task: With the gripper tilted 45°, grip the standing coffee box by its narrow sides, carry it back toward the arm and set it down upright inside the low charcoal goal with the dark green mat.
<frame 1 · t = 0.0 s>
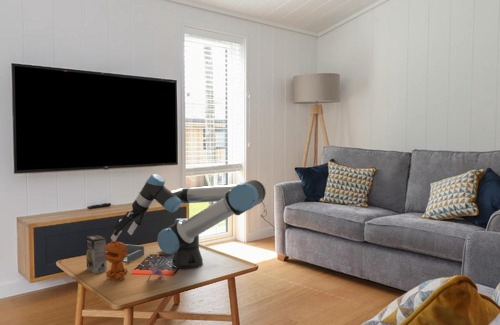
hand: (121, 236, 214), 15 cm above the table, tool tilted 35°, fingers open, 13 cm apart
coffee box: (96, 270, 211), on the table
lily: (156, 280, 196), on the table
teacup: (171, 251, 244), on the table
orange figurine: (116, 279, 199), on the table
goal: (123, 257, 232), on the table
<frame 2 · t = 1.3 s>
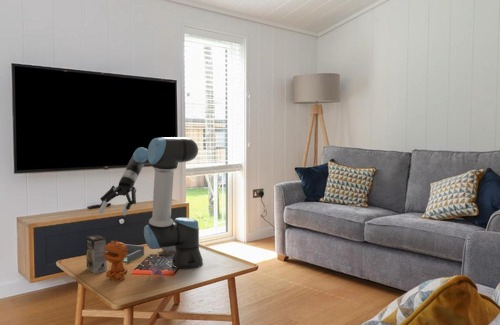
hand: (111, 213, 222), 25 cm above the table, tool tilted 45°, fingers open, 13 cm apart
nothing on the table moved.
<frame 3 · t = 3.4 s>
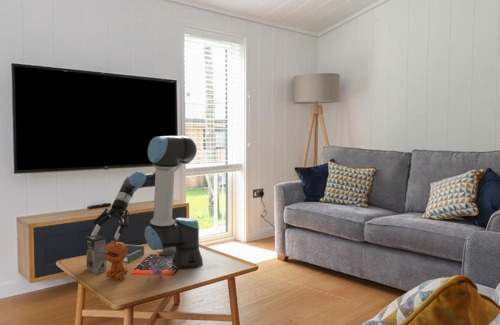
hand: (104, 237, 218), 14 cm above the table, tool tilted 45°, fingers open, 13 cm apart
nothing on the table moved.
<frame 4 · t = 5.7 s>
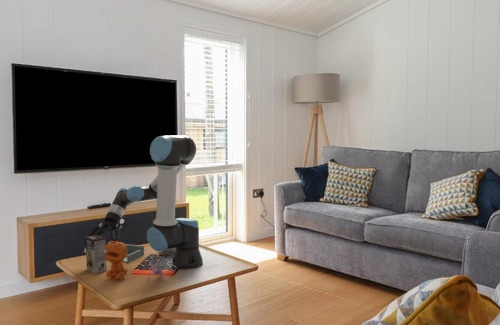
hand: (95, 253, 210), 8 cm above the table, tool tilted 45°, fingers closed on coffee box, 10 cm apart
coffee box: (96, 270, 211), on the table, touching gripper
everything else where it was.
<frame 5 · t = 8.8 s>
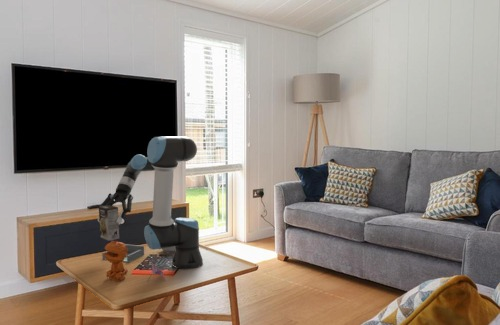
hand: (108, 222, 221), 21 cm above the table, tool tilted 45°, fingers closed on coffee box, 10 cm apart
coffee box: (109, 238, 223), point 12 cm above the table, touching gripper
everything else where it was.
when the fingers open (10 cm above the table, at t = 12.4 s): coffee box stays where it is, resting on goal.
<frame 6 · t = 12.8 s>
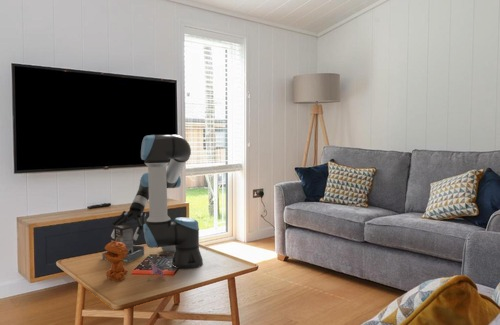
hand: (123, 238, 231), 10 cm above the table, tool tilted 45°, fingers open, 13 cm apart
coffee box: (124, 256, 232), resting on goal
everything else where it was.
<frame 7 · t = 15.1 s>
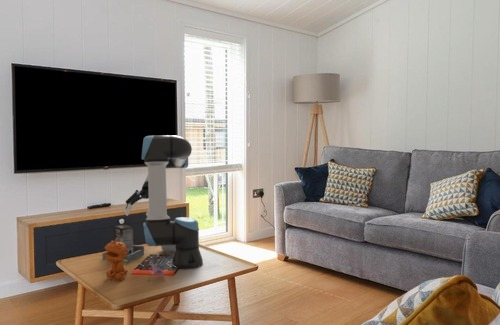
hand: (136, 215, 243), 20 cm above the table, tool tilted 45°, fingers open, 13 cm apart
nothing on the table moved.
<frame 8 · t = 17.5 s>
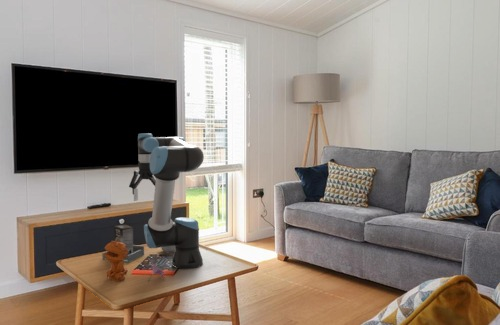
hand: (146, 201, 238), 29 cm above the table, tool pointing down, fingers open, 13 cm apart
nothing on the table moved.
at the end: coffee box inside the target area on the goal (0.3 cm from its centre), point 0.3 cm above the goal's base; coffee box tilted 0°; the gripper is holding nothing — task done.
